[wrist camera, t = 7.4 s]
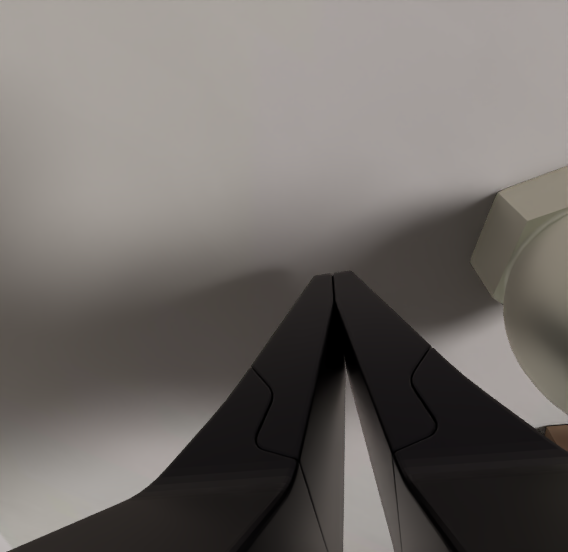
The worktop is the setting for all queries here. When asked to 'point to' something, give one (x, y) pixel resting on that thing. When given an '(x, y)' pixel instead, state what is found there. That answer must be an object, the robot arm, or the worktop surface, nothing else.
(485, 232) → the valve
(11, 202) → the worktop surface
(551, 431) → the carrier bracket
